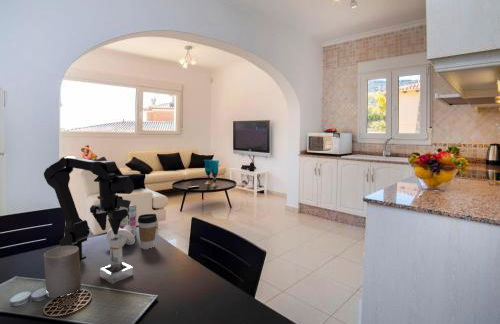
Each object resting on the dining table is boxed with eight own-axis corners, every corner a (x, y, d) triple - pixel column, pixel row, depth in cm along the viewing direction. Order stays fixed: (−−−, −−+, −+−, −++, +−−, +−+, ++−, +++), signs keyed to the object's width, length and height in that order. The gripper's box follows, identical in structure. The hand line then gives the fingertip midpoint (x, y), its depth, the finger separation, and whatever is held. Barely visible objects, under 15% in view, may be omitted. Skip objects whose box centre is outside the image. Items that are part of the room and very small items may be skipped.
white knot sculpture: (111, 253, 127) (110, 233, 126) (103, 245, 136) (102, 226, 135) (137, 246, 134) (137, 228, 134) (127, 239, 143) (127, 222, 143)
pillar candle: (74, 280, 102) (72, 239, 101) (85, 290, 96) (83, 246, 95) (41, 292, 95) (38, 247, 93) (51, 303, 89) (49, 255, 87)
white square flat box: (100, 276, 105) (99, 268, 105) (120, 269, 112) (120, 261, 112) (112, 283, 101) (112, 275, 101) (133, 275, 107) (132, 266, 107)
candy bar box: (137, 236, 148) (136, 205, 146) (129, 239, 143) (128, 207, 142) (122, 232, 153) (121, 202, 152) (113, 235, 149) (113, 204, 147)
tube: (109, 273, 107) (108, 238, 105) (120, 270, 109) (120, 236, 108) (112, 277, 103) (111, 242, 102) (124, 274, 106) (123, 239, 105)
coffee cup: (153, 250, 130) (153, 218, 129) (134, 250, 130) (134, 217, 129) (159, 243, 139) (159, 213, 137) (142, 243, 139) (141, 212, 138)
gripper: (139, 192, 114) (141, 231, 115) (115, 188, 125) (117, 223, 127) (112, 196, 105) (114, 238, 106) (88, 192, 117) (90, 230, 118)
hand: (109, 232), depth 115 cm, fingers open, 9 cm apart
